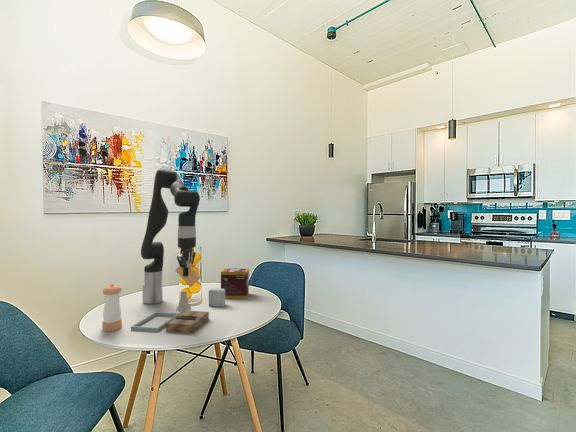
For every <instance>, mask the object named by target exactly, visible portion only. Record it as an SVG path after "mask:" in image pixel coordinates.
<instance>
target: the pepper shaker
mask: <svg viewBox="0 0 576 432" xmlns="http://www.w3.org/2000/svg"><path fill="white" fill-rule="evenodd" d="M121 292H122V287H121V286H120V285H117V284H115V283H110V285H107V286H105V287H104V288H103V289H102V294H103V295H104V306H103V313H102V314H103V315H102V318H103V319H102V325H101V326H102V329H101V330H102V331H104V332H114V331H117V330H120V329H121V328H122V327H123V323H122V322H123V319H122V310H121V308H122V307H121V303H120V293H121Z"/></svg>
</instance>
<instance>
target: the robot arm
mask: <svg viewBox="0 0 576 432" xmlns="http://www.w3.org/2000/svg"><path fill="white" fill-rule="evenodd" d="M162 189H169V190H170V191H169V192H170V194H171V195H172V196H173V197H174V204H175V205H176V206H177V207H181V208H183V207H186V208H189V209H188V210H187V211H183V212H180V213H179V214H178V219H177V220H178V221H177V222H178V225H177V226H178V227H177V247H178V248H179V249H180V252H179V255H177V256H176V260H177V261H178V264H179V266H180V267H182V268H183V276H185V277H187V276H188V267H189V264H190V265H191V266H193V265H194V262H195V258H196V256H197V255H196V254H197V253H196V252H195V251H194V248H196V246H197V230H196V229H197V228H196V217H197V211H198V208H199V205H200V201H201V198H200V197H201V196H200V194H199V192H198V191H196V190H190V189H189V188H188V187H187V186H186V185H185V184H184V183H183V181H182V178H181V176H180V175H179V174H178V172H176V171H174V170H169V169H161V168H159V169H157V170H156V172H155V175H154V182H153V191H152V198H151V203H150V207H149V212H148V218H147V223H146V230H145V233H144V237H143V240H142V243H141V244H142V245H141V248H140V255H141V258H142V259H143V260H152V262H151V263H150V262H149V264H146V265H145V266H144V267H143V268H144V269H143V270H144V272H143V273H144V277H143V278H144V280H143V281H144V282H143V283H144V284H143V285H142V303H144V304H146V305H152V304H153V305H154V304H155V305H156V304H159V303H162V302H163V297H164V296H163V267H164V256H165V255H164V254H165V250H164V249H165V248H164V244H163V243H162V241H154V239H155V238H156V237H157V235H158V234H159V233H160V232H161V231H162V229H163V228H164V227H165V226H166V224H167V221H168V217H169V216H168V215H169V209H168V207H167V205H166V202H165V200H164V199H163V196H162Z"/></svg>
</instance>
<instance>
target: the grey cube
mask: <svg viewBox="0 0 576 432" xmlns="http://www.w3.org/2000/svg"><path fill="white" fill-rule="evenodd" d="M225 304H226V298H225V289H221V288H214V287H213V288H210V289H208V307H224V306H225Z"/></svg>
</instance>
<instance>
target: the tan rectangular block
mask: <svg viewBox="0 0 576 432" xmlns="http://www.w3.org/2000/svg"><path fill="white" fill-rule="evenodd" d="M192 266H193V265H190V264H189V267H188V276H187V277H185V276H183V268H182V267H180V265H179V266H177V268H176V269H175V272H176V274H178V276H179V277H181V279H182V280H183V281H184V282H185V283H186V284H187V286H188V287H190V288H191V287H193V286H194V285H195V284H196V283H197V282H198V281H199V280H200V279H201V278H202V276H201V275H200V274H199V273H198V271H196V269H194V268H193V267H192Z"/></svg>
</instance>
